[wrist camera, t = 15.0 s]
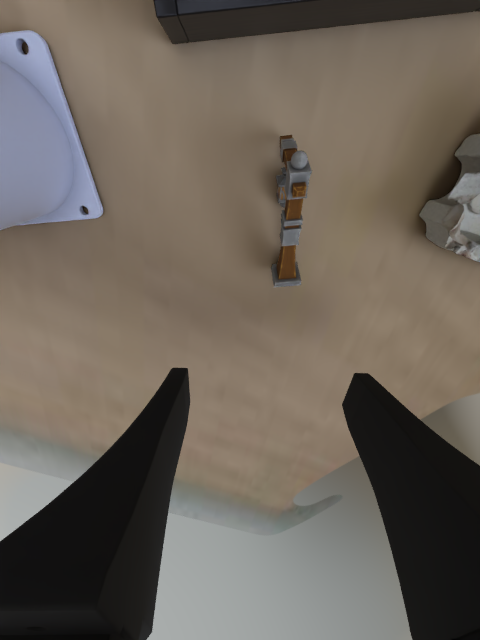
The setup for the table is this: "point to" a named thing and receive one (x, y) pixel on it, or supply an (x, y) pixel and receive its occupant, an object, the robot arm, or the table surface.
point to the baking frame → (287, 15)
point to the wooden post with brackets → (290, 210)
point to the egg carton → (459, 207)
